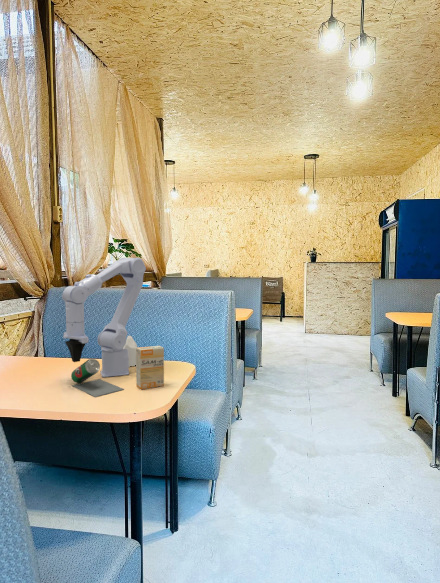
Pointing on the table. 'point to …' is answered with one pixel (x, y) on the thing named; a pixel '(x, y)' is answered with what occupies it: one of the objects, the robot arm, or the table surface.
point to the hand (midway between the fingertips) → (76, 361)
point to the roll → (131, 350)
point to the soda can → (85, 371)
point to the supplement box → (149, 367)
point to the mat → (97, 387)
